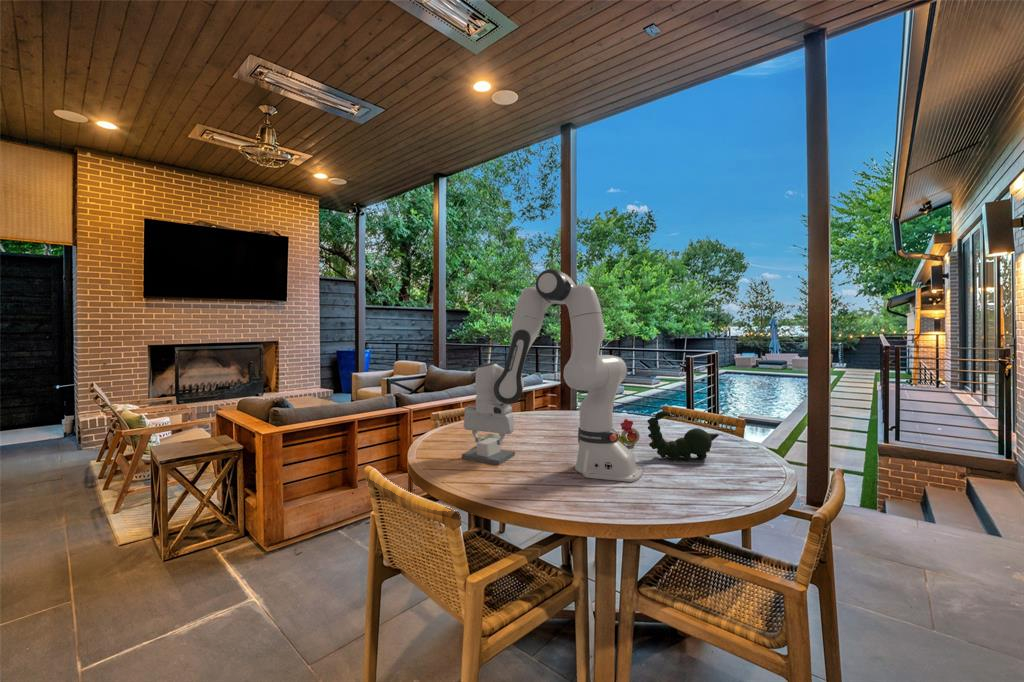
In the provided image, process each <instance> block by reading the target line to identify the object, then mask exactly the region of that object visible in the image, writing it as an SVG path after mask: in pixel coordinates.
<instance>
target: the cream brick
mask: <svg viewBox="0 0 1024 682" xmlns="http://www.w3.org/2000/svg"><path fill="white" fill-rule="evenodd" d="M499 439H500V438H499ZM499 439H494V438H488V439H485V440H483V441H480V442H476V447H477V455H481V456H485V457H489V456H491V455H493V454H496V453H498V452H500V449H501V445H497V440H499Z"/></svg>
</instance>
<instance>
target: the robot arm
mask: <svg viewBox="0 0 1024 682" xmlns="http://www.w3.org/2000/svg"><path fill="white" fill-rule="evenodd" d="M549 306H551V307H558V306H560V307H561V306H567V310H568V314H569V321H570V327H571V334H572V351H571V354H570V358H569V360H568V361H567V363H566V364H565V366H564V368H563V379H564V382H565V383H566V385H567V386H568V387H569V388H570V389H573V390H578V391H579V390H580V391H588V392H587V394H586V396H585V398H584V399H583V400H582V401H581V403H580V405H579V426H578V429H577V430H578V431H577V442H578V451H577V458H576V462H575V466H574V469H575V471H576V472H578V473H580V474H581V475H582V476H583V477H584V478H587V479H588V478H589V479H597V480H598V479H599V480H606V481H619V482H628V483H629V482H630V483H631V482H635V481H638V480H639V479H641V477H642V476H643V474H644V471H643V468H642V467H641V466H640V465H637V462H636V457H635V455H634V452H633V451H632V450H630V449H629V448H628V447H627V446H626V447H625V446H624V445H623V444H622V443H621V442H619V441H618V436H619V434H620V430H617V431H616V429H614V427H613V419H614V417H613V415H614V414H613V412H614V403H615V400H616V396H617V393H618V389H619V388H620V386H621V383H622V382H624V380H625V378H626V376H627V374H628V367H627V365H626V363H625V361H624V360H623V358H621V357H620V356H616V355H611V354H603V355H600V349H601V345H602V343H603V341H604V340H605V338H606V328H605V324H604V317H603V311H602V308H601V303H600V301H599V297H598V294H597V293H596V290H595V289H594V287H593V286H591V285H590V284H589V285H588V284H579V285H578V284H577V282H576V281H575V280H574V279H573V278H571V277H570V276H569V275H568V274H567V273H565V272H562V271H560V270H557V269H553V268H549V269H545V270H543V271H542V272H540V273H539V274H538V276H537V277H536V281H535V286H532V285H531V286H527V287H525V288H523V289H522V291H521V293H520V295H519V297H518V300H517V302H516V306H515V308H514V313H513V315H512V322H511V327H510V328H511V330H510V345H509V351H508V354H507V358H506V362H505V365H504V367H502V366H501V365H499V364H498V363H495V362H487V363H484V364H481V365H479V366H478V367H477V369H476V372H475V390H476V396H475V405H471V404H468V405H466V406H465V408H464V409H463V411H464V412H463V413H464V416H463V428H464V429H465V431H466V430H467V431H471V433H472V435H473V437H474V442H475V443H477V442H480V441H481V438H482V437H481V436H479V434H478V433H479V432H484V433H485V432H486V433H491V434H499V440H497V445H500V446H502V445H503V443H504V442H503V440H504V438H505V436H506V435H510V434H513V432H514V431H515V420H514V415H513V414H512V410H513V407H512V404H515V403H517V402H518V401H519V400H520V399H521V398H522V395H523V390H524V389H525V379H524V377H523V376H522V373H523V370H524V365H525V361H526V358H527V355H528V352H529V350H530V349H531V346H532V345H533V343H534V342H535V340H537V338H538V335H539V334H540V331H541V329H542V325H543V322H544V318H545V314H546V311H547V309H548V308H549Z"/></svg>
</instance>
